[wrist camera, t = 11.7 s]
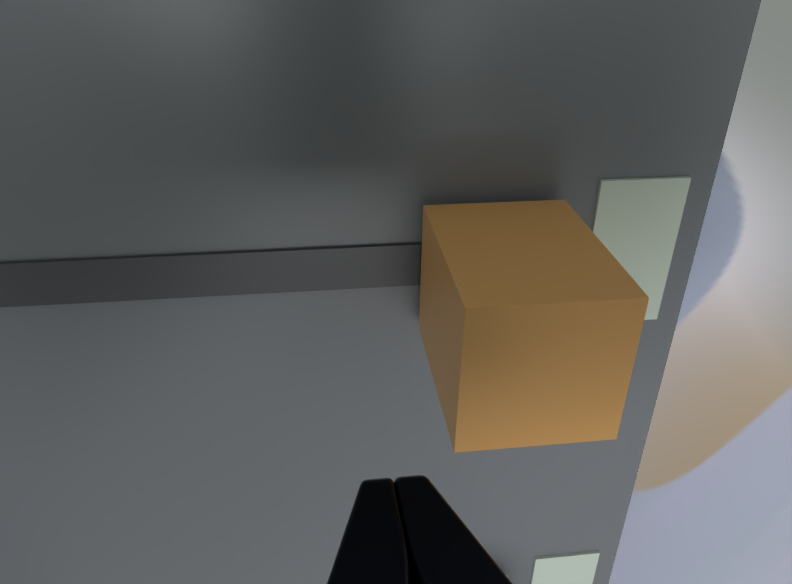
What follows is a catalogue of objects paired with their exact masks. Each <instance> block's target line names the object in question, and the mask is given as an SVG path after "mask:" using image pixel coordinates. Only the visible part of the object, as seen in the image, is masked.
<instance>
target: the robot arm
mask: <svg viewBox="0 0 792 584" xmlns="http://www.w3.org/2000/svg"><path fill="white" fill-rule="evenodd" d="M327 584H512V582H511V581H510V580H509V579H508V577H507V576H506V575H505V574H504V572H503V571H502V570H501V569H500V567H499V566H498V565H497V564H496V562H495V561H494V560H493V559H492V557H491V556H490V555H489V554H488V552H487V551H486V550H485V549H484V547H483V546H482V545H481V544H480V542H479V541H478V540H477V539H476V537H475V536H474V535H473V534H472V532H471V531H470V530H469V529H468V527H467V526H466V525H465V524H464V522H463V521H462V520H461V519H460V517H459V516H458V515H457V514H456V513H455V511H454V510H453V509H452V508H451V506H450V505H449V504H448V503H447V501H446V500H445V499H444V498H443V496H442V495H441V494H440V493H439V491H438V490H437V489H436V488H435V486H434V485H433V484H432V483H431V481H430V480H429V479H428V478H427V477H426V476H423V475H414V476H402V477H397V478H396V479H395V481H394V482H393V480H392V479H391V478H379V479H367V480H364V481H362V483H361V484H360V487H359V490H358V493H357V496H356V499H355V502H354V505H353V508H352V511H351V513H350V516H349V519H348V522H347V525H346V528H345V531H344V534H343V537H342V540H341V543H340V546H339V549H338V552H337V555H336V558H335V561H334V564H333V567H332V570H331V573H330V576H329V579H328V582H327Z"/></svg>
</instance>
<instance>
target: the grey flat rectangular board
mask: <svg viewBox="0 0 792 584" xmlns="http://www.w3.org/2000/svg"><path fill="white" fill-rule="evenodd" d="M760 3H761V0H0V584H327V582H328V579H329V576H330V573H331V570H332V567H333V564H334V561H335V558H336V555H337V552H338V549H339V546H340V543H341V540H342V537H343V534H344V531H345V528H346V525H347V522H348V519H349V516H350V513H351V511H352V508H353V505H354V502H355V499H356V496H357V493H358V490H359V487H360V484H361V483H362V481H364V480H367V479H379V478H391V479H392V480H393V482H394V481H395V479H396V478H397V477H402V476H414V475H423V476H426V477H427V478H428V479H429V480H430V481H431V483H432V484H433V485H434V486H435V488H436V489H437V490H438V491H439V493H440V494H441V495H442V496H443V498H444V499H445V500H446V501H447V503H448V504H449V505H450V506H451V508H452V509H453V510H454V511H455V513H456V514H457V515H458V516H459V517H460V519H461V520H462V521H463V522H464V524H465V525H466V526H467V527H468V529H469V530H470V531H471V532H472V534H473V535H474V536H475V537H476V539H477V540H478V541H479V542H480V544H481V545H482V546H483V547H484V549H485V550H486V551H487V552H488V554H489V555H490V556H491V557H492V559H493V560H494V561H495V562H496V564H497V565H498V566H499V567H500V569H501V570H502V571H503V572H504V574H505V575H508V579H509V580H510V581H511V582H512V584H608V583H609V579H610V575H611V571H612V567H613V564H614V560H615V556H616V552H617V548H618V545H619V541H620V537H621V533H622V529H623V526H624V522H625V518H626V514H627V510H628V506H629V503H630V499H631V495H632V491H633V487H634V484H635V480H636V476H637V472H638V468H639V464H640V460H641V457H642V453H643V449H644V445H645V441H646V438H647V434H648V430H649V426H650V422H651V418H652V414H653V411H654V407H655V403H656V399H657V395H658V392H659V388H660V384H661V380H662V377H663V373H664V369H665V365H666V361H667V358H668V354H669V350H670V346H671V342H672V338H673V335H674V331H675V327H676V323H677V319H678V316H679V312H680V308H681V304H682V300H683V297H684V293H685V289H686V285H687V281H688V277H689V274H690V270H691V266H692V262H693V258H694V255H695V251H696V247H697V243H698V239H699V235H700V232H701V228H702V224H703V220H704V216H705V213H706V209H707V205H708V201H709V197H710V193H711V190H712V186H713V182H714V178H715V174H716V171H717V167H718V163H719V159H720V155H721V151H722V148H723V144H724V140H725V136H726V132H727V128H728V125H729V121H730V117H731V113H732V109H733V106H734V102H735V98H736V94H737V90H738V87H739V83H740V79H741V75H742V71H743V67H744V63H745V60H746V56H747V52H748V48H749V45H750V41H751V37H752V33H753V29H754V26H755V21H756V18H757V14H758V10H759V6H760ZM541 200H566V201H567V203H568V204H569V205H570V206H571V207H572V208H573V210H574V211H575V212H576V213H577V214H578V215H579V216H580V218H581V219H582V220H583V221H584V222H585V223H586V225H587V226H588V227H589V228H590V229H591V230H592V232H593V233H594V234H595V235H596V236H597V237H598V239H599V240H600V241H601V242H602V243H603V244H604V246H605V247H606V248H607V249H608V250H609V251H610V253H611V254H612V255H613V256H614V257H615V258H616V260H617V261H618V262H619V263H620V264H621V265H622V267H623V268H624V269H625V270H626V271H627V272H628V274H629V275H630V276H631V277H632V278H633V279H634V280H635V282H636V283H637V284H638V285H639V286H640V287H641V289H642V290H643V291H644V292H645V293H646V294H647V296H648V297H649V301H648V306H647V310H646V314H645V319H644V323H643V327H642V331H641V336H640V340H639V344H638V349H637V353H636V357H635V361H634V366H633V370H632V374H631V379H630V383H629V387H628V392H627V396H626V400H625V404H624V409H623V413H622V417H621V422H620V426H619V430H618V434H617V439H613V440H601V441H589V442H577V443H565V444H553V445H541V446H528V447H516V448H504V449H492V450H480V451H468V452H456V453H454V450H453V446H452V443H451V439H450V436H449V432H448V429H447V425H446V422H445V418H444V415H443V411H442V408H441V404H440V401H439V397H438V394H437V390H436V387H435V383H434V380H433V376H432V373H431V369H430V366H429V362H428V359H427V355H426V352H425V348H424V345H423V341H422V338H421V334H420V331H419V308H420V281H421V253H422V225H423V205H441V204H466V203H491V202H516V201H541Z"/></svg>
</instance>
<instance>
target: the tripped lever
mask: <svg viewBox="0 0 792 584" xmlns="http://www.w3.org/2000/svg"><path fill="white" fill-rule="evenodd" d="M648 301H649V297H648V296H647V294H646V293H645V292H644V291H643V290H642V289H641V287H640V286H639V285H638V284H637V283H636V282H635V280H634V279H633V278H632V277H631V276H630V275H629V274H628V272H627V271H626V270H625V269H624V268H623V267H622V265H621V264H620V263H619V262H618V261H617V260H616V258H615V257H614V256H613V255H612V254H611V253H610V251H609V250H608V249H607V248H606V247H605V246H604V244H603V243H602V242H601V241H600V240H599V239H598V237H597V236H596V235H595V234H594V233H593V232H592V230H591V229H590V228H589V227H588V226H587V225H586V223H585V222H584V221H583V220H582V219H581V218H580V216H579V215H578V214H577V213H576V212H575V211H574V210H573V208H572V207H571V206H570V205H569V204H568V203H567V201H566V200H541V201H516V202H491V203H466V204H441V205H423V225H422V253H421V281H420V308H419V331H420V334H421V338H422V341H423V345H424V348H425V352H426V355H427V359H428V362H429V366H430V369H431V373H432V376H433V380H434V383H435V387H436V390H437V394H438V397H439V401H440V404H441V408H442V411H443V415H444V418H445V422H446V425H447V429H448V432H449V436H450V439H451V443H452V446H453V450H454V453H456V452H468V451H480V450H492V449H504V448H516V447H528V446H541V445H553V444H565V443H577V442H589V441H601V440H613V439H617V434H618V430H619V426H620V422H621V417H622V413H623V409H624V404H625V400H626V396H627V392H628V387H629V383H630V379H631V374H632V370H633V366H634V361H635V357H636V353H637V349H638V344H639V340H640V336H641V331H642V327H643V323H644V319H645V314H646V310H647V306H648Z"/></svg>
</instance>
